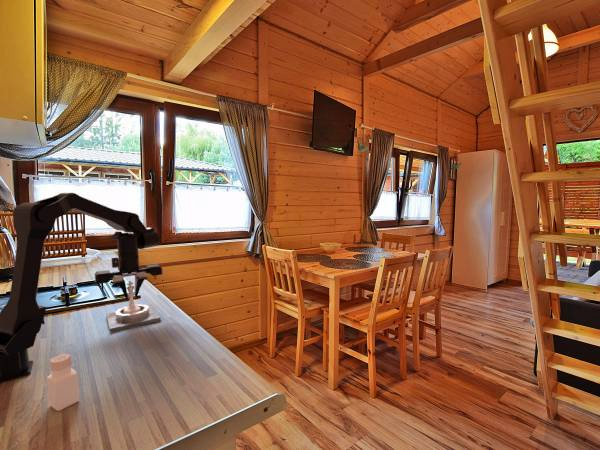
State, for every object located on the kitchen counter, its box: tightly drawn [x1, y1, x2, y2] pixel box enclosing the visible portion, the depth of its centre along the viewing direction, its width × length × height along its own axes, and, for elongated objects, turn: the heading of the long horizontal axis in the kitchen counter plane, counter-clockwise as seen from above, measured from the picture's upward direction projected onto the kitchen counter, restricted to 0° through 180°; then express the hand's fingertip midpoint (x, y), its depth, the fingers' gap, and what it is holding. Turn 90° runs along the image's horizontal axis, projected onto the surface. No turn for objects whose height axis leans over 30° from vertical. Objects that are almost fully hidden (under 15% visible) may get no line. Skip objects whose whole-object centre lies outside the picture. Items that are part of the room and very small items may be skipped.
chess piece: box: [124, 280, 141, 314], centre depth 101 cm, size 5×5×10 cm
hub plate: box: [105, 303, 162, 333], centre depth 102 cm, size 14×14×3 cm
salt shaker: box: [46, 353, 80, 412], centre depth 61 cm, size 4×4×10 cm
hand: (131, 299), depth 101 cm, fingers closed on chess piece, 2 cm apart
